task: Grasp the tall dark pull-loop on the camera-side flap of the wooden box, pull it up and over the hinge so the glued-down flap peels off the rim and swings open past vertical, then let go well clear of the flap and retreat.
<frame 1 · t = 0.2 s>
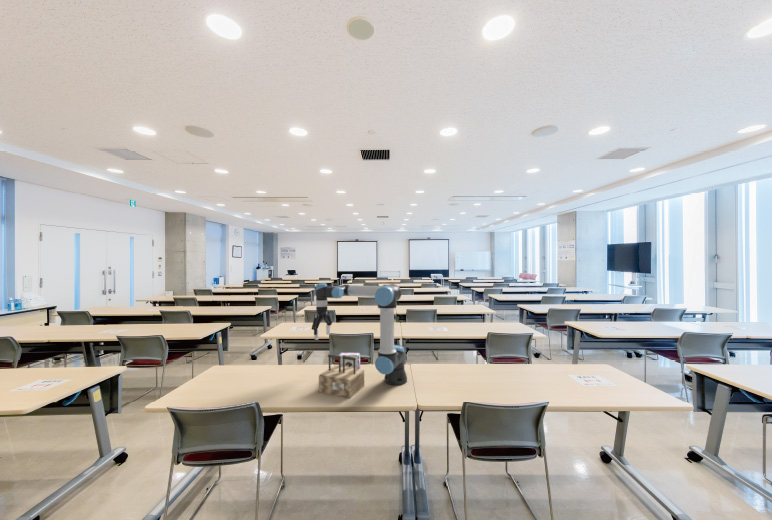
hand: (322, 336, 217), 28 cm above the table, fingers open, 13 cm apart
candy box: (350, 377, 217), on the table
flap near: (338, 366, 194), point 15 cm above the table, hinge at 0.0°
wooden box: (342, 389, 198), on the table
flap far: (345, 362, 202), point 15 cm above the table, hinge at 0.0°
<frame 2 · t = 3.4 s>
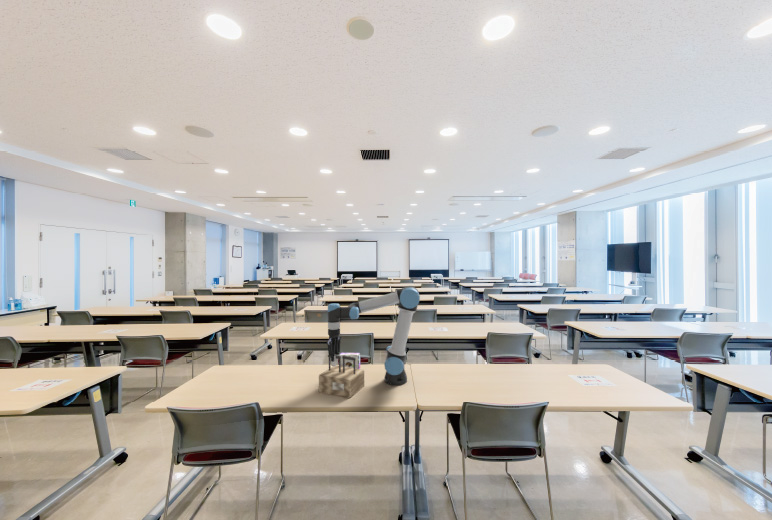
hand: (334, 365, 200), 14 cm above the table, fingers closed on flap near, 2 cm apart
flap near: (338, 366, 194), point 15 cm above the table, hinge at 0.0°, touching wooden box, gripper
everything else where it was.
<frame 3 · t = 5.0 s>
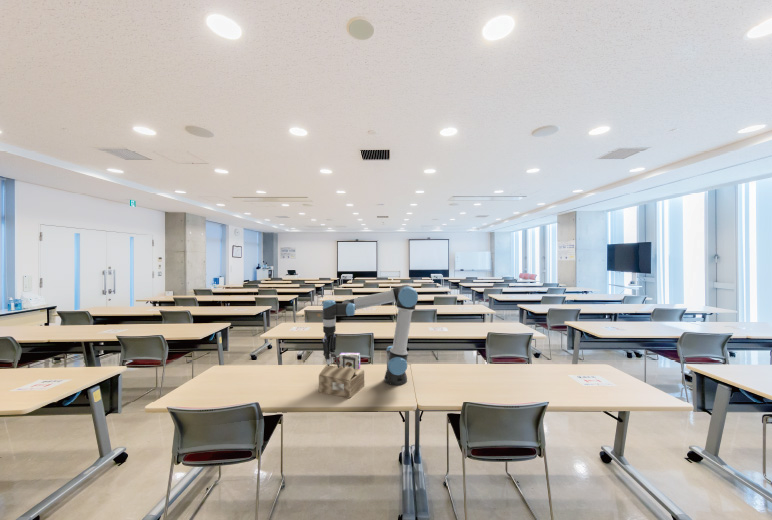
hand: (329, 363, 195), 17 cm above the table, fingers closed on flap near, 2 cm apart
flap near: (335, 365, 192), point 17 cm above the table, hinge at 24.5°, touching gripper
everything else where it was.
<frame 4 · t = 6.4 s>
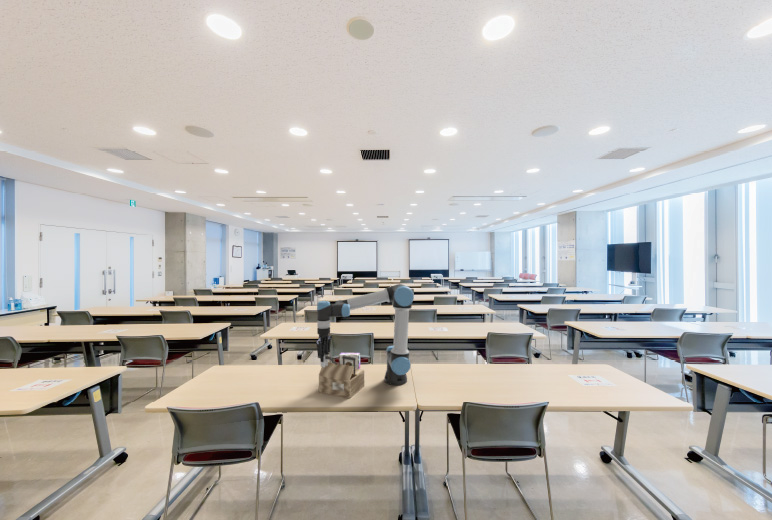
hand: (324, 366, 190), 18 cm above the table, fingers closed on flap near, 2 cm apart
flap near: (332, 367, 189), point 17 cm above the table, hinge at 49.8°, touching gripper
everything else where it was.
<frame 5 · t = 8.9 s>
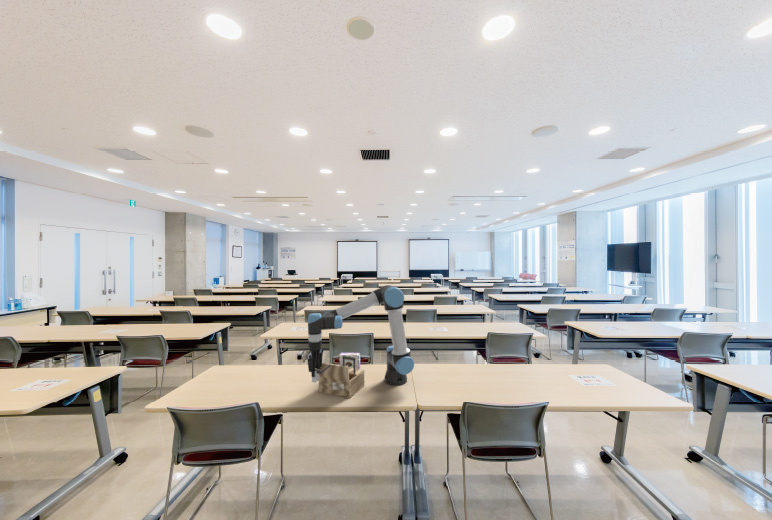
hand: (315, 381, 182), 12 cm above the table, fingers closed on flap near, 2 cm apart
flap near: (328, 375, 184), point 14 cm above the table, hinge at 95.9°, touching gripper
everything else where it was.
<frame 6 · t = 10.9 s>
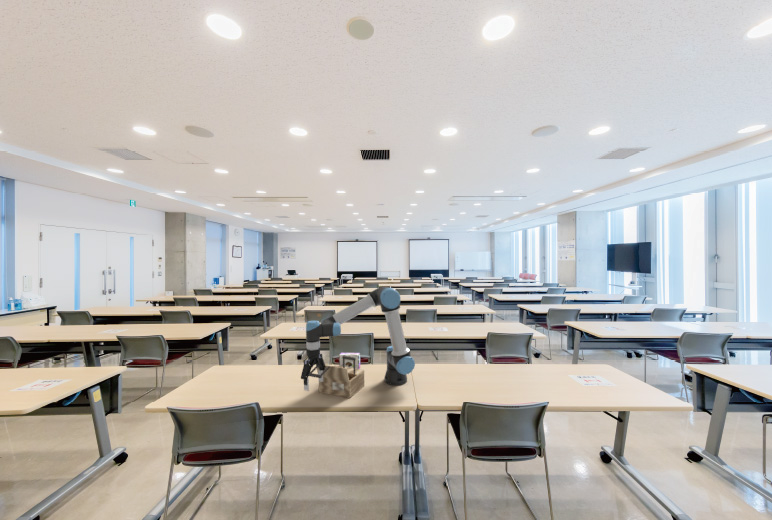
hand: (314, 385, 180), 10 cm above the table, fingers open, 12 cm apart
flap near: (327, 377, 184), point 13 cm above the table, hinge at 105.8°, touching gripper, hand
everything else where it was.
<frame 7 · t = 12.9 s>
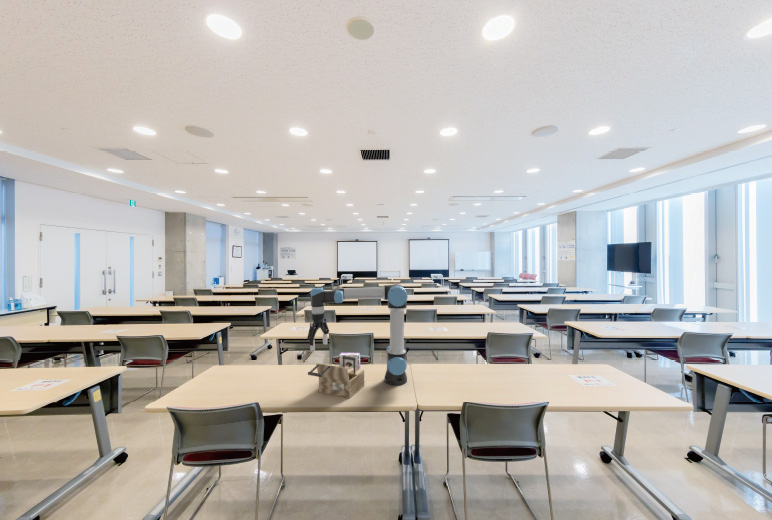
hand: (319, 347, 195), 27 cm above the table, fingers open, 13 cm apart
flap near: (327, 376, 184), point 13 cm above the table, hinge at 103.2°
everything else where it was.
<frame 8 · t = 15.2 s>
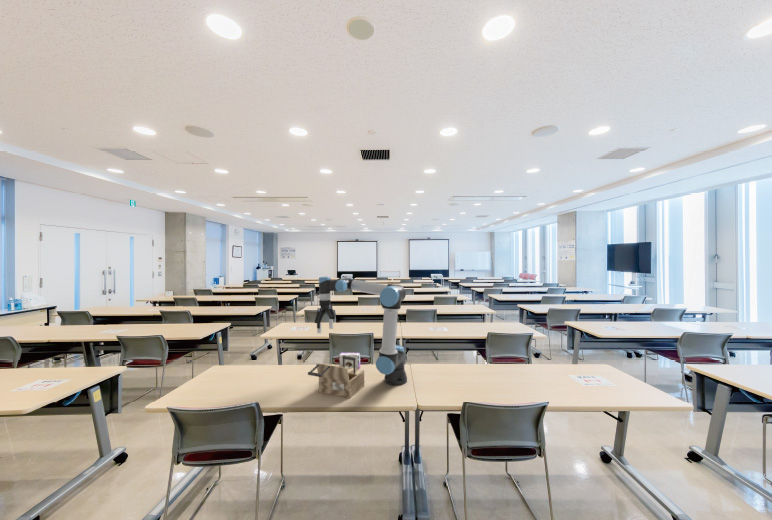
hand: (325, 330, 215), 33 cm above the table, fingers open, 13 cm apart
nothing on the table moved.
at the end: flap near at +103° (first picture: +0°); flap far at +0° (first picture: +0°); the gripper is holding nothing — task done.
